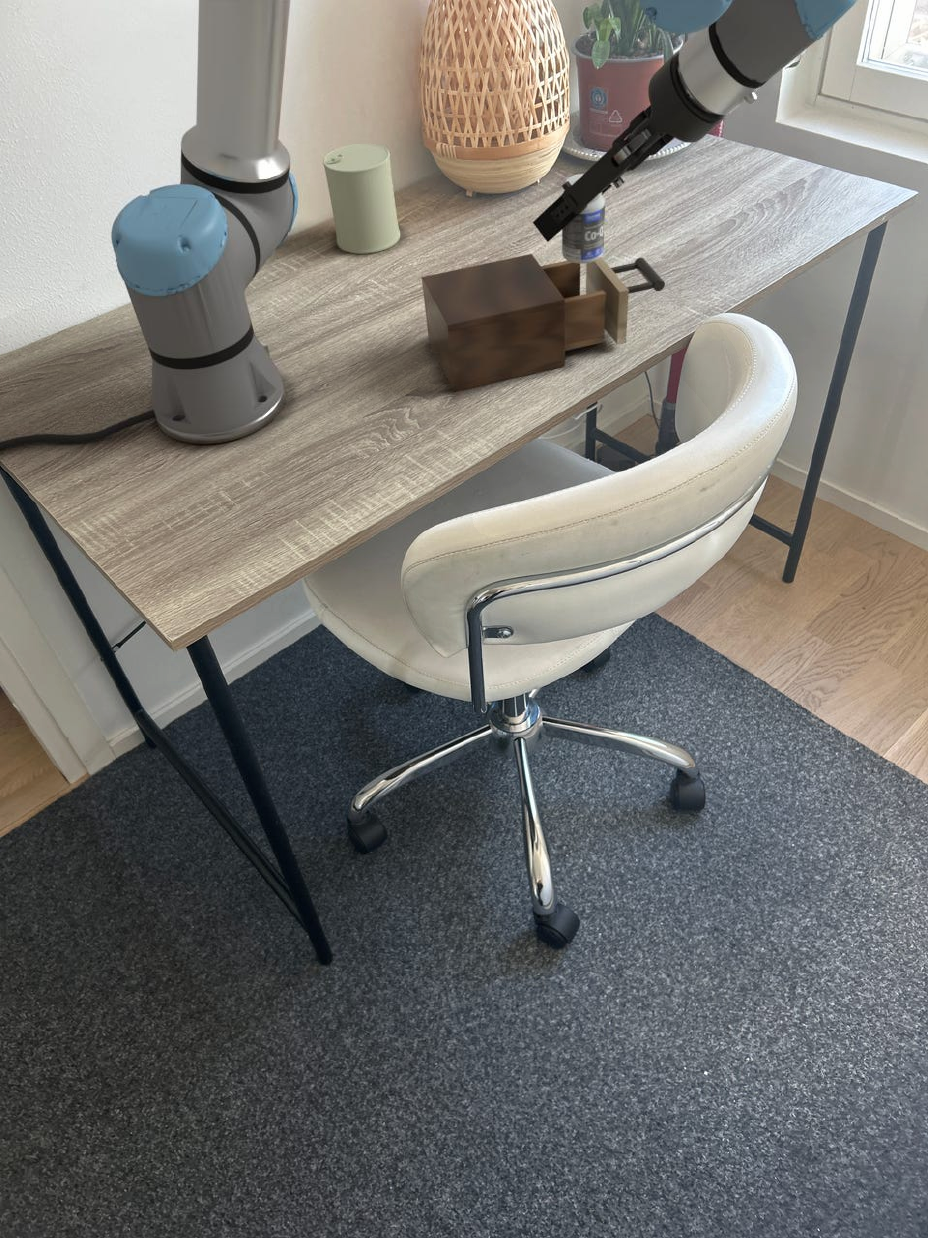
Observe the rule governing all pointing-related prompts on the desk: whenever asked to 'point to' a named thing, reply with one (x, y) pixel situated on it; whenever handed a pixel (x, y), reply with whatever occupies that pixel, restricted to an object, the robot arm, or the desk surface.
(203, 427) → the robot arm
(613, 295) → the drawer
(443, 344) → the cabinet
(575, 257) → the pill bottle
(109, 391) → the desk surface
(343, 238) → the can
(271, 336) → the desk surface
